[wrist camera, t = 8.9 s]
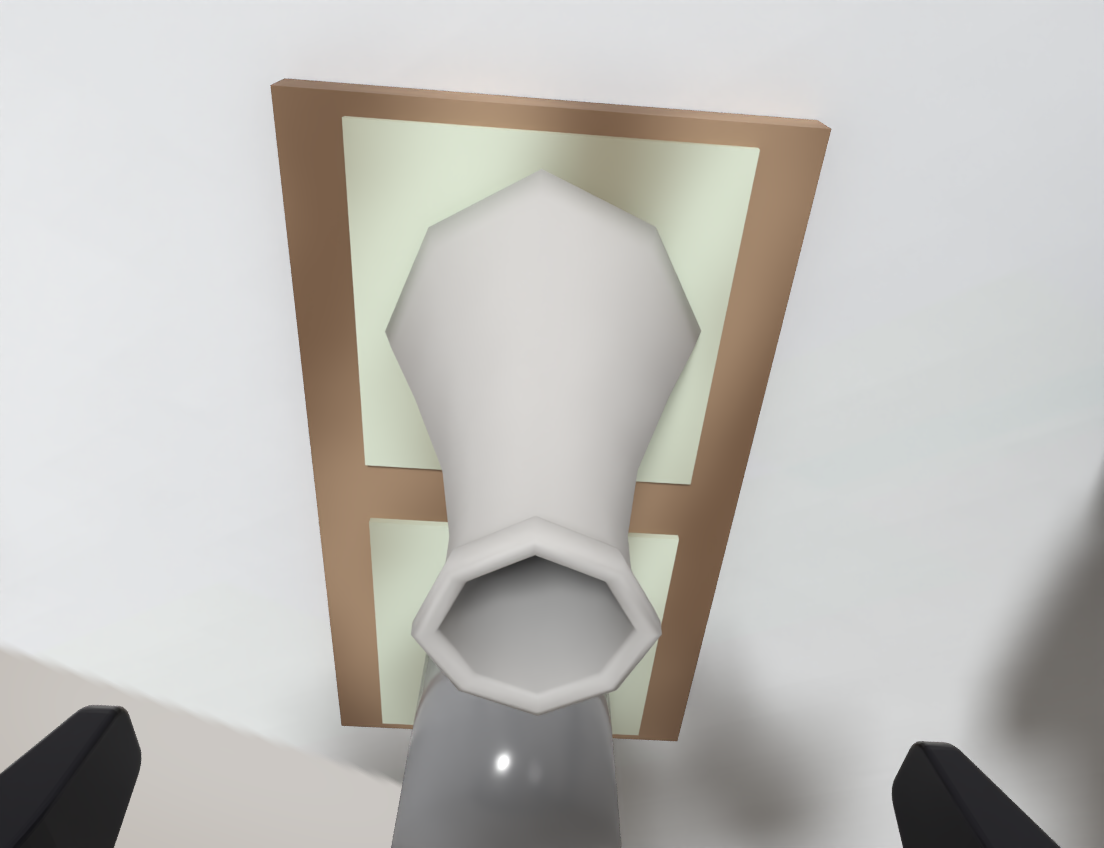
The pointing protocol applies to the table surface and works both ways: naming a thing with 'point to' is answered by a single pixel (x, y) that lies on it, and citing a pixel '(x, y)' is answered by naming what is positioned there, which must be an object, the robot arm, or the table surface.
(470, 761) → the grey cylinder
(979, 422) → the table surface
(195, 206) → the table surface
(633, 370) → the flask
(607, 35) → the table surface
